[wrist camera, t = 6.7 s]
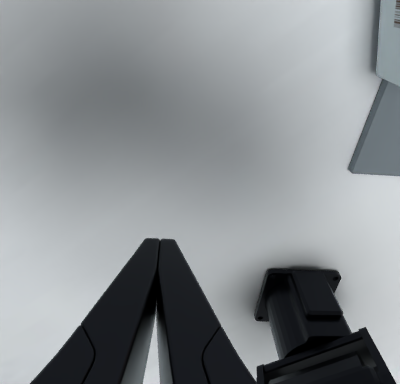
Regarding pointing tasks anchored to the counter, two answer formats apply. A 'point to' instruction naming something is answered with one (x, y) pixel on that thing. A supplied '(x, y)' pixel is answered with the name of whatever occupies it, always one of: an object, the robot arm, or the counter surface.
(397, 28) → the small box
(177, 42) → the counter surface
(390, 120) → the mat
